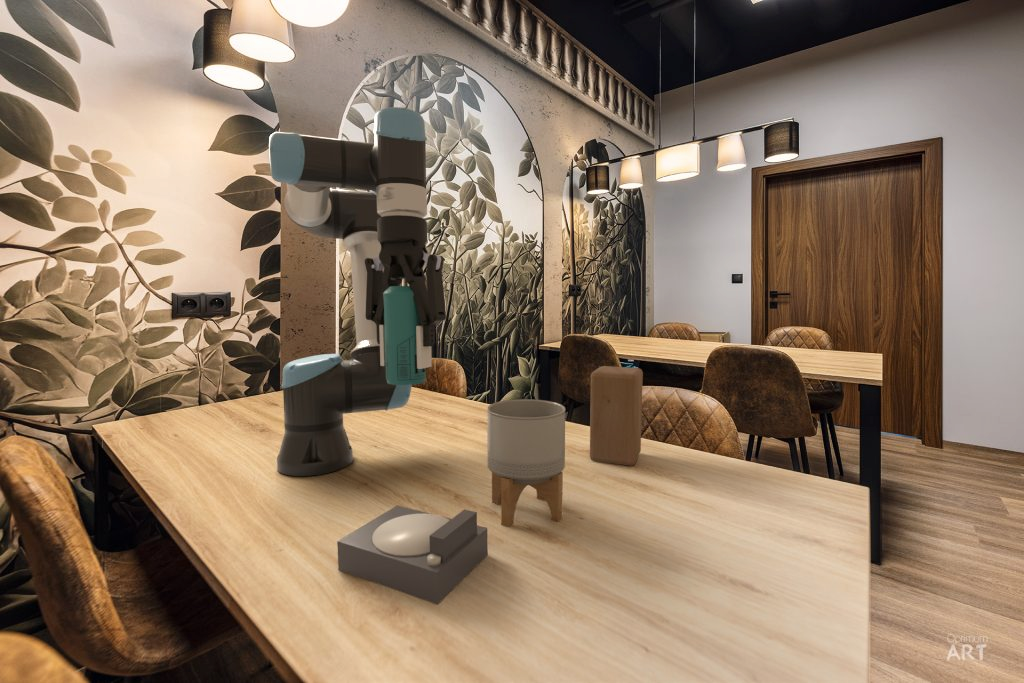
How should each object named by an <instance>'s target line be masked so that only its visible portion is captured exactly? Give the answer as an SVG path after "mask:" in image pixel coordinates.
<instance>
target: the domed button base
mask: <svg viewBox="0 0 1024 683" xmlns="http://www.w3.org/2000/svg"><path fill="white" fill-rule="evenodd" d="M488 535H489V534H488V527H485V526H481V525H478V512H477V511H473V510H469V509H462V510H461V511H460V512H459V513H458V514H456V515H455V516H453V517H452V518H449V517H446V516H442V515H439V514H433V513H431V512H426V511H421V510H418V509H414V508H411V507H406V506H402V505H395V506H393V507H392V508H390V509H388V510H387V511H385V512H384V513H382V514H380V515H378V516H377V517H375V518H374V519H372V520H371V521H368V522H367V523H365V524H364V525H362V526H361V527H358V528H357V529H355V530H354V531H352V532H350V533H349V534H347V535H345V536H343V537H342V538H340V539H338V540H337V546H336V547H337V567H338V571H340V572H344V573H346V574H349V575H352V576H354V577H355V576H356V577H358V578H361V579H364V580H366V581H369V582H372V583H375V584H378V585H381V586H383V587H385V588H388V589H389V588H390V589H393V590H395V591H397V592H401V593H404V594H406V595H409V596H411V597H415V598H418V599H420V600H423V601H427V602H428V603H431V604H435V605H439V604H440V603H441V602H442V601H443V600H444V599H445V598H446V597H447V596H448V595H449V594H450V593H451V592H452V591H453V590H454V589H455V588H456V587H457V586H458V585H459V584H460V583H461V582H462V581H463V580H464V579H465V578H466V577H467V576H468V575H469V574H470V573H471V572H472V571H473V570H475V568H476V567H477V566H478V565H479V564H480V563H482V561H483V560H484V559H485V558H486V557H487V556H488V554H489V553H488V551H489V550H488V547H489V546H488V542H489V541H488V538H489V537H488Z"/></svg>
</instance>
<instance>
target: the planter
mask: <svg viewBox="0 0 1024 683" xmlns="http://www.w3.org/2000/svg"><path fill="white" fill-rule="evenodd" d="M486 408H487V409H486V411H487V412H486V415H487V416H486V418H487V419H486V420H487V423H486V425H487V429H486V431H487V435H486V436H487V445H486V446H487V450H486V451H487V468H488V470H489V471H490V472H491V503H492V504H493V505H500V504H501V505H500V507H501V510H500V511H501V513H500V515H501V519H500V520H501V521H500V522H501V524H500V525H501V526H504V527H506V528H510V527H512V526H513V525H514V520H515V511H516V507H517V504H518V501H519V500H520V496H521V494H522V492H523V491H524V490H525V488H526V487H528V486H530V487H532V488H533V489H534V490H536V499H538V500H542V501H545V502H546V503H547V506H548V509H549V511H550V518H551V521H554V522H560V520H562V519H563V479H564V478H563V476H564V475H563V474H564V473H563V471H564V469H565V468H566V467H565V465H566V464H565V463H566V459H565V458H566V457H565V456H566V455H565V454H566V407H565V406H564V405H563V404H560V403H558V402H555V401H554V402H553V401H550V400H544V399H543V400H542V399H529V398H528V399H526V398H525V399H507V400H502V401H497V402H493V403H491V404H489V405H488V406H487V407H486Z"/></svg>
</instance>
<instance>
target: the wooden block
mask: <svg viewBox="0 0 1024 683" xmlns="http://www.w3.org/2000/svg"><path fill="white" fill-rule="evenodd" d="M643 377H644V372H643V370H642V369H641V368H639V367H630V366H627V367H626V366H625V367H623V366H609V365H608V366H605V365H602V366H599V367H597V369H595V370H594V371H592V372H591V374H590V407H589V408H590V410H589V412H590V414H589V415H590V417H589V418H590V419H589V420H590V421H589V422H590V423H589V458H590V460H591V461H593V462H594V461H595V462H601V463H607V464H615V465H624V466H635V464H636V462H637V460H638V458H639V455H640V453H641V449H642V415H643V414H642V413H643V412H642V411H643V380H644V379H643Z"/></svg>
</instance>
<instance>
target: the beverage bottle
mask: <svg viewBox="0 0 1024 683" xmlns="http://www.w3.org/2000/svg"><path fill="white" fill-rule="evenodd" d="M389 277H391V278H392V277H405V276H404V273H403V269H402V267H401V266H400V264H392V265H391V269H390V275H389ZM413 296H414V293H413V291H412V290H411V289H410V286H409V285H399V286H390V287H389V288H388V289H386V290H385V292H384V293H383V297H384V325H385V346H384V347H385V349H384V350H385V352H384V353H385V355H384V356H385V358H384V359H385V360H384V361H385V362H386V363H385V362H384V363H385V364H386V365H385V371H386V372H385V373H386V380H387V383H388V384H392V385H412V386H413V385H418V384H419V385H420V384H423V383H426V380H427V376H428V375H427V371H428V369H427V368H428V367H427V368H423V369H417V341H416V326H419V325H418V323H419V322H420V319H419V316H418V312H417V309H416V306H415V302H414V299H413Z"/></svg>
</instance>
